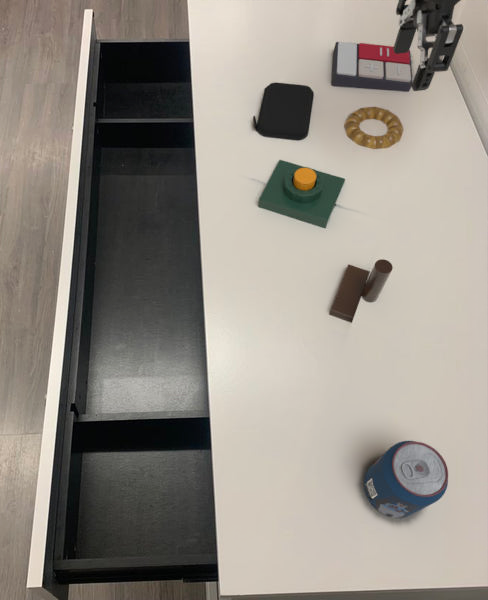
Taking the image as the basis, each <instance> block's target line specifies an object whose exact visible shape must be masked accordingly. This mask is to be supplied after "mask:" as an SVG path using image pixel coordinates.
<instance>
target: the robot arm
mask: <svg viewBox="0 0 488 600" xmlns="http://www.w3.org/2000/svg"><path fill="white" fill-rule="evenodd" d="M407 1H408V0H398V2H397V5H396V8H395V14H396V16H400V17H399V18H398V27H399V30H398V31H397V35H396V38H395V41H394V44H393V47H394V48H393V50H394V52H395V53H396V54H399V53H406V52H408V51H409V50H410V49H411V46H412V43H413V41H414V38H415V35H416V31H417V46H416V47H417V49H418V50H420V58H419V64H418V67H417V69H416V72H415V74H414V77H413V79H412V85H411V89H412V91H414V92H419V91H427V90H428V89H429V88H430V85H431V83H432V81H433V78H434V77H435V73H441V72H447V71H448V70H449V68H450V65H451V63H452V60H453V58H454V54H455V52H456V50H457V47H458V44H459V42H460V39H461V37H462V34H463V31H464V25H463V23H457V24H454V22H453V21H452V20H453V17H454V10H455V6H456V5H457V4H458V3H460V2H461V0H410V1H409V4H406V3H407ZM432 37H434V38H435V40H432V41H428V40H427V38H432ZM430 49H431V51H430ZM410 51H411V50H410ZM429 51H430V54H429Z"/></svg>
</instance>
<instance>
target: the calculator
mask: <svg viewBox="0 0 488 600" xmlns="http://www.w3.org/2000/svg"><path fill="white" fill-rule="evenodd" d="M393 48H394V46H392V45H381V44H374V43H373V44H372V43H365V42H359V43H356V42H347V41H336V42H335V44H334V47H333V51H332V60H331V62H332V63H331V79H330V80H331V81H330V85H331V86H332V87H335V88H350V89H363V90H365V89H366V90H377V91H378V90H379V91H389V92H390V91H391V92H402V93H403V92H405V93H406V92H407V93H409V92H410V90H411V89H412V87H411V85H412V83H413V70H412V59H411V58H412V57H411V55H412V54H411V50H409V51H408V52H406V53H399V54H396V53H395V52H394V50H393Z"/></svg>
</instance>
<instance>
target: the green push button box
mask: <svg viewBox="0 0 488 600" xmlns="http://www.w3.org/2000/svg"><path fill="white" fill-rule="evenodd" d="M300 168H309V169H312V170H313V171H314V172H315V173H316V181H315V185H314V187H313V188H312V189H310V190H307V191H303V190H299V189H297V188H296V187H295V186H294V184H293V180H294V174H295V172H296V171H297V170H298V169H300ZM345 183H346V178H345V177H341V176H338V175H334V174H330V173H328V172H323V171H321V170H317V169H315V168H311V167H308V166H303V165H299V164H295V163H292V162H290V161H285V160H282V159H279V160H278V162H277V163H276V165H275V167H274V170H273V171H272V172H271V175H270V177H269V179H268V181H267V183H266V185H265V186H264V189H263V191H262V193H261V194H260V196H259V198H258V205H257V206H258V208H260V209H263V210H266V211H269V212H271V213H276V214H279V215H281V216H285V217H288V218H291V219H294V220H297V221H300V222H303V223H306V224H310V225H313V226H317V227H319V228H321V229H326V228H327V226H328V224H329V222H330V219H331V217H332V214H333V212H334V210H335V207H336V205H337V201H338V199H339V197H340V194H341V192H342V191H343V190H342V189H343V187H344V185H345Z"/></svg>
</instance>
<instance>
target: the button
mask: <svg viewBox="0 0 488 600" xmlns="http://www.w3.org/2000/svg"><path fill="white" fill-rule="evenodd" d="M309 168H310V167H308V168H300V169H298V170H297V171H296V172H295V174H294V180H293V184H294V186H295V187H296V188H297V189H299V190H303V191H307V190H310V189H312V188H313V187H314V185H315V181H316V173H315V172H314V171H313V170H312V169H313V168H311V169H309Z"/></svg>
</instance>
